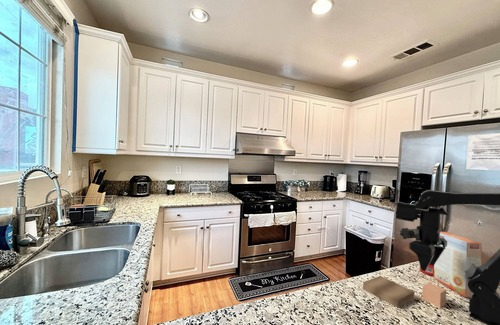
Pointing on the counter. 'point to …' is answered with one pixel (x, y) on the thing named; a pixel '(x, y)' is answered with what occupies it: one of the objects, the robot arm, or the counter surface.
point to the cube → (434, 294)
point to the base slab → (388, 291)
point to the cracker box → (457, 262)
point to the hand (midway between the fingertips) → (427, 267)
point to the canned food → (429, 270)
